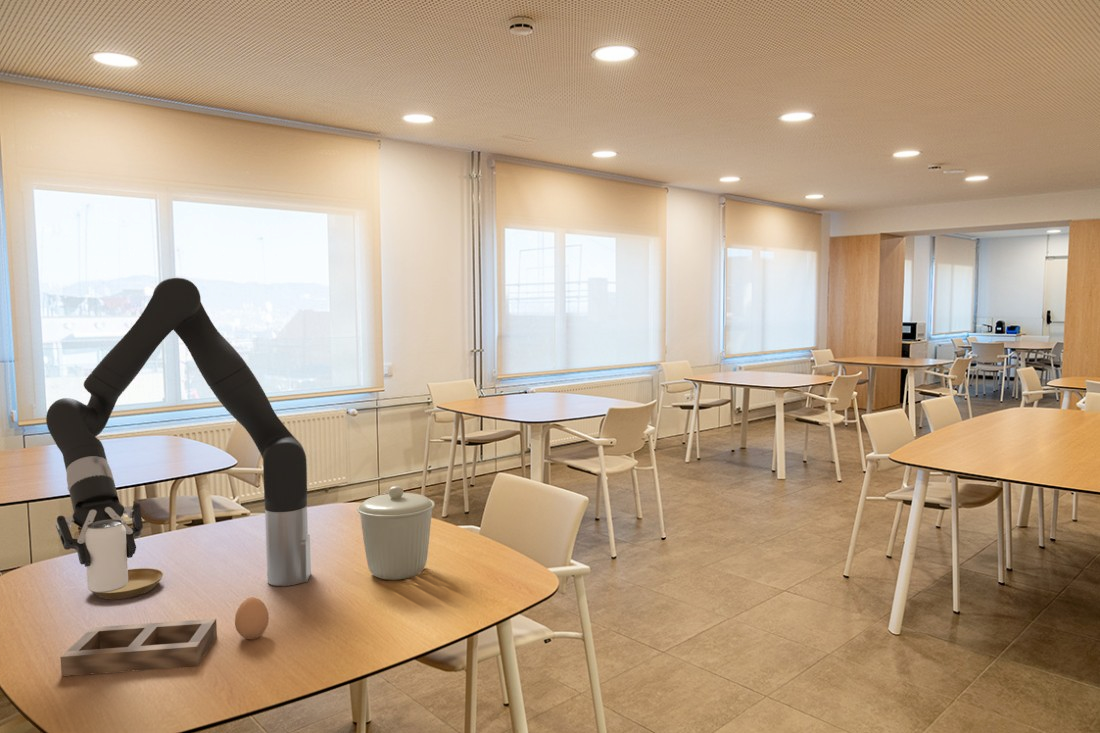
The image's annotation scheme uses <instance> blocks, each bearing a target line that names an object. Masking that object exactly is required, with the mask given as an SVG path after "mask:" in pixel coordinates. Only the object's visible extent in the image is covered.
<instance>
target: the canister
mask: <svg viewBox="0 0 1100 733" xmlns="http://www.w3.org/2000/svg"><path fill="white" fill-rule="evenodd" d="M435 504H436V503H435V501H434V500H432V499H430V498H428V497H427V496H425V495H422V494H419V493H413V492H412V493H411V492H404V488H403V487H402V486H400V485H392V486H391V487H389V489H388V492H387V493H385V494H378V495H375V496H372V497H370V498H367V499H365V500H364V501H363V502H362V503H360V504H358V506H357V507H356V511H357V512H358V513H359V515H360V524H361V531H362V532H361V533H362V537H363V538H362V539H363V545H364V550H365V551H364V553H365V556H366V557H365V558H366V563H367V567H368V570H369V572H370V573H371V574H372V575H373V576H374V577H376V578H378V579H381V580H387V581H388V580H389V581H397V580H405V579H410V578H413V577H414V576H415V577H416V576H418V575H419V574H420V573H422V572H423V570H424V569H425V567H426V565H427V560H428V554H429V553H428V552H429V545H430V535H431V523H432V512H433V509H434V507H436V506H435Z"/></svg>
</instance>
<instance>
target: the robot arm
mask: <svg viewBox="0 0 1100 733" xmlns="http://www.w3.org/2000/svg"><path fill="white" fill-rule="evenodd" d="M201 301H202V299H201V293H200V291H199V289H198V287H197V285H195V283H193V282H192V281H191V280H189V279H187V278H185V277H179V276H174V277H173V276H172V277H167V278H165V279H163V280H162V281H161V282H159V283H158V284H157V285H156V287H155V288H154V290H153V292H152V296H151V298H150V299H149V301H148V303H147V305H146V307H145V308H144V310H143V311H142V312H141V314H140V316H139V317H138V319H137V320H136V321H135V323H134V324H133V325H132V326H131V327H130V329H129V330H128V331H127V332H126V334H124V335H123V337H122V338H121V339H120V340H119V341H118V342H117V343H116V344H115V345H114V346H113V348H111V349H110V351H109V352H108V353H106V355H105V356H104V357H103V359H101V361H99V363H98V364H97V365H96V366H95V368H94V369H93V370H92V371H91V373H90V374H89V375H88V376H87V377H86V378H85V380H84V382H83V387H84V389H85V390H86V392H88V393H89V394H90V397H89V401H88V403H87V404H84V403H83V402H81V401H79V400H77V399H74V398H69V397H64V398H60V399H57V400H55V401H54V402H53V403H52V404H51V405H50V406H49V408H48V410H47V412H46V418H45V421H46V422H45V423H46V427H47V430H48V432H49V433H50V436H51V438H52V439H53V441H54V443H55V445H56V447H57V449H59V451H60V452H61V454H62V458H63V462H64V468H65V472H66V483H67V491H68V493H69V497H70V500H71V505H72V510H73V514H72V515H68V516H66V517H65V516H64V515H58V516H57V518H56V522H55V528H56V531H57V534H58V535H59V538H60V539H59V540H60V541H61V544H62V547H63V549H64V550H67V551H68V550H71V549H72V550H74V549H75V551H76V552H77V558H78V561H79V564H80V565H81V566H83V565H84V567H85V568H87V566H90V563H91V559H90V555H89V551H88V549H87V547H86V544H85V534H86V532H87V529H88V527H87V526H88V525H89V524H91V523H93V522H97V521H102V520H110V519H118V520H122V521H123V523H122V524H123V526H124V527H125V529H126V543H127V559H129V558H133V556H134V555H135V553H136V550H137V545H136V541H135V537H139V536H141V534H142V530H143V527H144V526H143V518H142V510H141V504H140V503H138V502H136V503H133V504H132V505H131V506H130V505H129V506H124V505H123V504H122V503H121V501H120V498H119V495H118V491H117V488H116V483H115V481H114V476H113V472H112V470H111V467H110V464H109V462H108V460H107V455H106V451H105V448H104V445H103V443H102V441H101V440H100V439H99V438H97V437H98V436H99V435H100V434H101V433H102V432H103V431H104V429H105V427H106V426H107V424H108V421H109V419H110V417H111V414H112V413H113V410H114V408H115V406H116V404H117V401H118V399H119V398H120V396H121V395H122V394H123V393H124V392H125V391H126V390H127V388H128V387H129V386H130V384H131V383H132V381H134V380H135V378H136V377H137V375H138V374H139V373H140V372H141V370H142V369H143V368H144V366H145V365H146V364H147V362H148V361H149V359H150V358H151V356H152V355H153V353H154V352H155V351H156V349H157V348H158V347H159V346H160V345H161V343H162V342H163V341H164V340H165V339H166V337H167V336H168V335H169V334H171V332H173V331H174V332H175V333H176V335H177V336H178V338H180V340H181V341H182V342H183V343H184V345H185V347H186V349H187V350H188V351H189V353H190V356H191V357H192V360H193V361H194V363H195V365H196V367H197V368H198V370H199V372H200V374H201V376H202V378H203V379H204V380H205V382H206V384H207V385H208V387H209V389H210V390H211V391H212V393H213V394H214V395H215V397H216V399H217V400H218V401H219V402H220V404H221V405H222V406H223V407H224V408H225V409H226V411H227V412H228V413H229V414H230V415H231V416H232V417H233V418H234V419H235V420H236V421H237V422H238V423H239V424H240V425H241V426H242V427H243V428H244V429H245V430H246V432H247V433H248V435H249V436H250V438H251V439H252V441H253V443H254V444H255V446H256V448H257V449H258V452H259V454H260V456H261V458H262V460H263V461H262V465H263V466H262V467H263V469H262V470H263V471H262V472H263V495H264V496H263V498H264V514H265V515H264V517H265V521H264V522H265V547H266V552H265V553H266V575H267V577H266V578H267V580H266V581H267V583H268V584H269V585H270V586H274V587H275V586H276V587H287V586H294V585H299V584H301V583H307V582H308V581H309V578H310V576H311V574H312V564H311V536H310V535H311V534H309V528H308V527H309V526H308V525H309V524H308V470H307V468H308V467H307V465H308V464H307V455H306V452H305V450H304V449H305V448H304V447H303V444H301V443H300V441H299V440H298V439H297V438H296V437H295V436H294V435H293V433H291V431H290V430H289V429H288V428H287V427H286V426H285V424H284V423H283V422H282V420H281V419H280V418H279V416H278V415H277V414H276V412H275V411H274V408H273V407H272V405H271V403H270V400H269V398H268V397H267V395H266V393H265V391H264V388H263V387H262V386H261V384H260V382H259V380H258V379H257V377H256V375H255V374H254V372H252V370H251V368H250V367H249V365H248V364H247V362H246V361H245V360H244V359H243V358H242V356H241V355H240V354H239V353H238V352H237V350H236V349H235V348H234V347H233V345H231V344H230V342H228V340H227V339H226V338H225V337H224V336H223V335H222V333H220V332H219V331H218V329H217V328H216V327H215V324H214V323H213V322H212V320H211V318H210V316H209V314H208V312H207V311H206V309H205V307H204V305H203V304H202V302H201ZM125 514H126V515H127V517H128V518H129V519H131V522H132V523H131V524H132V527H130V526H129V524H128V525H127V523H126V521H125V520H124V519H123V518H122V517H123V515H125ZM73 523H74V524H75V525H77V526H78V527H79V528H81V531H80V533H79V536H78V538H73V535H72V532H71V531H70V529H71V526H72V524H73Z"/></svg>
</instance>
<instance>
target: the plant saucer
mask: <svg viewBox="0 0 1100 733" xmlns="http://www.w3.org/2000/svg"><path fill="white" fill-rule="evenodd" d="M163 576H164V572H163V571H162V570H160V569H157V568H149V567H148V568H147V567H146V568H145V567H143V568H141V567H140V568H139V567H138V568H128V583H127V584H126V586H124V587H123V588H120V589H118V590H115V591H110V592H104V593H95V592H92V594H94V595H96V596H97V597H98V598H101V599H105V600H121V599H122V600H123V599H127V598H128V599H129V598H133V597H138V596H140V594H141V595H144V594H146V593H148V592H149V591H151V590H153V589H154V588H156V586H157V585H158V584H159V582H160V581H161V580H162V579H163ZM143 593H144V594H143Z"/></svg>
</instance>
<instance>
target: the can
mask: <svg viewBox="0 0 1100 733" xmlns="http://www.w3.org/2000/svg"><path fill="white" fill-rule="evenodd" d="M122 523H123V521H122V520H118V519H110V520H102V521H97V522H93V523H91V524H89V525H88V526H87V527H88V529H87V532H86V534H85V544H86V547H87V549H88V551H89V555H90V559H91V563H90V566H87V567H86V576H87V578H86V579H87V589H88V590H89V591H90V592H92V593H93V592H95V593H104V592H110V591H115V590H118V589H120V588H123V587H124V586H126V584H127V583H128V570H129V566H128V565H129V564H128V563H129V562H128V557H127V543H126V529H125V527H124V526H123V524H122Z"/></svg>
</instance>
